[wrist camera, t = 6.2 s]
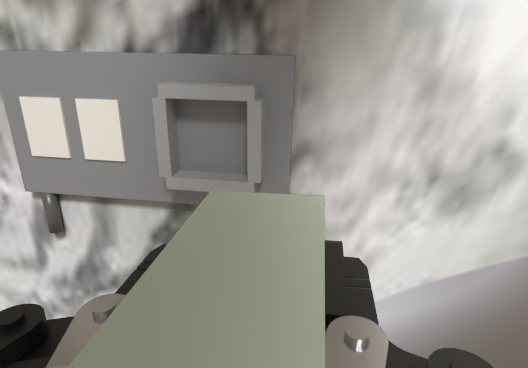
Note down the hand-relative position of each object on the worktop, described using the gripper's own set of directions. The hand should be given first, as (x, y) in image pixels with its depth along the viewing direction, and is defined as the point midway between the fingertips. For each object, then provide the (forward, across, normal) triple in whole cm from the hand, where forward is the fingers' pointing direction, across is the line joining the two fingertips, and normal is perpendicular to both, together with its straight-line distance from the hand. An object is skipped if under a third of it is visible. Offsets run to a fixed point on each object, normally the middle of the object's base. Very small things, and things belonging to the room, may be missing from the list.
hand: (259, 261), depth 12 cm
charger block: (+1, 0, 0) cm, 1 cm away
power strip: (+17, +12, +1) cm, 21 cm away
